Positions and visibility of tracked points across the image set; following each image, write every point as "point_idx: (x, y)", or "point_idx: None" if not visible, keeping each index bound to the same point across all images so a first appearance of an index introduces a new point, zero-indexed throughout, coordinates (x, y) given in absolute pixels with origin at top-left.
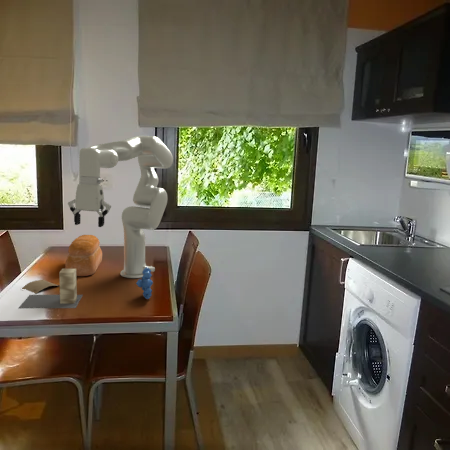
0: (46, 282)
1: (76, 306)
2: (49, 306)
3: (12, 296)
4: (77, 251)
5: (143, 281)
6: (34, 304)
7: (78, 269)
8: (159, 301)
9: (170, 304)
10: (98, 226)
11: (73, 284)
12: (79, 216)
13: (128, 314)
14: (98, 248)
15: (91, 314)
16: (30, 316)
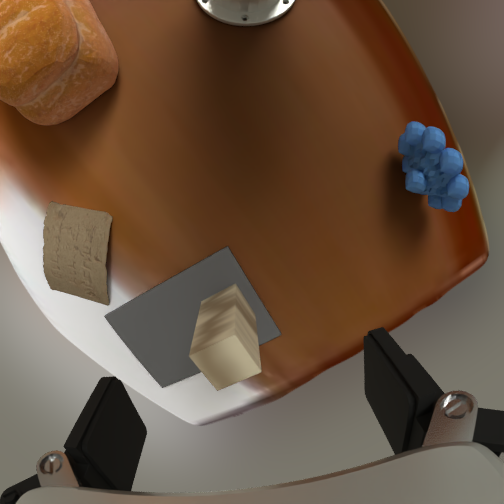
0: (73, 242)
1: (275, 326)
2: None
3: (80, 334)
4: (32, 89)
5: (434, 188)
6: (172, 360)
7: (77, 104)
8: None
9: (471, 191)
10: (367, 394)
11: (258, 346)
12: (103, 446)
13: (413, 295)
14: None
15: (336, 338)
16: (218, 400)
